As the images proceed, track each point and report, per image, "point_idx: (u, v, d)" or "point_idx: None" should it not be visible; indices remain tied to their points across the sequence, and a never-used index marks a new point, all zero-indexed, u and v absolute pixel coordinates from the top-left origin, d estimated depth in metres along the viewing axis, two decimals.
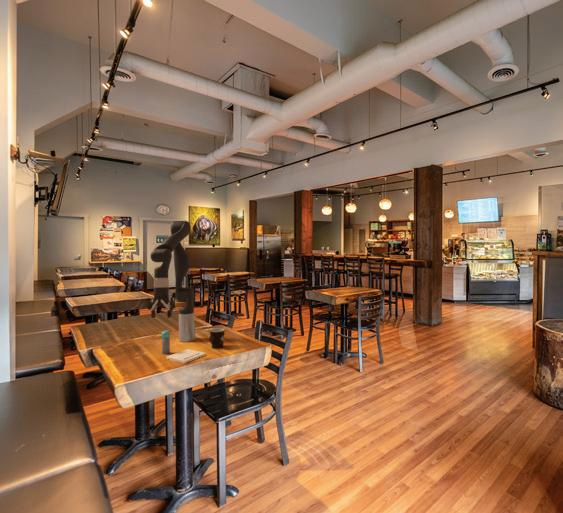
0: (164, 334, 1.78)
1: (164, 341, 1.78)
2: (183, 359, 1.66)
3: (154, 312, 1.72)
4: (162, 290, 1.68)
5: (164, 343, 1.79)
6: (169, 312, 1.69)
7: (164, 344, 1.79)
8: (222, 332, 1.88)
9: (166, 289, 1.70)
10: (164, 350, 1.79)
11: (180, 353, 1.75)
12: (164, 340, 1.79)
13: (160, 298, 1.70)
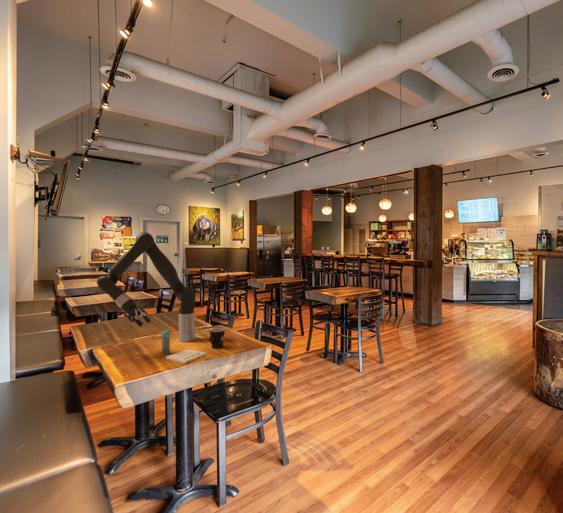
0: (164, 334, 1.78)
1: (164, 341, 1.78)
2: (183, 359, 1.66)
3: (146, 318, 1.85)
4: None
5: (164, 343, 1.79)
6: None
7: (164, 344, 1.79)
8: (222, 332, 1.88)
9: (122, 307, 1.79)
10: (164, 350, 1.79)
11: (180, 353, 1.75)
12: (164, 340, 1.79)
13: None
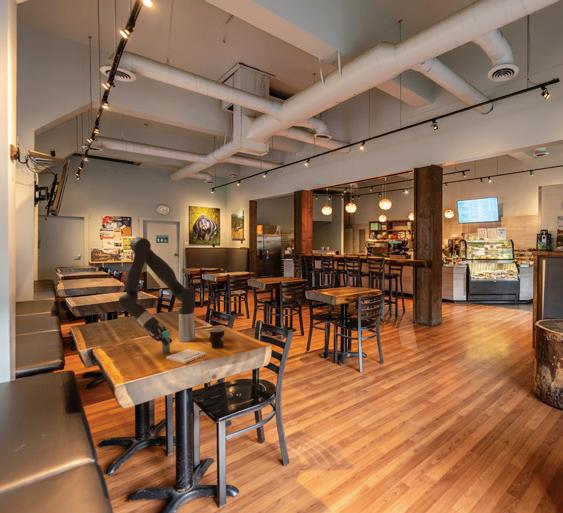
0: (164, 334, 1.78)
1: None
2: (183, 359, 1.66)
3: None
4: (145, 328, 1.79)
5: None
6: None
7: None
8: (222, 332, 1.88)
9: (145, 326, 1.78)
10: (164, 350, 1.79)
11: (180, 353, 1.75)
12: None
13: None
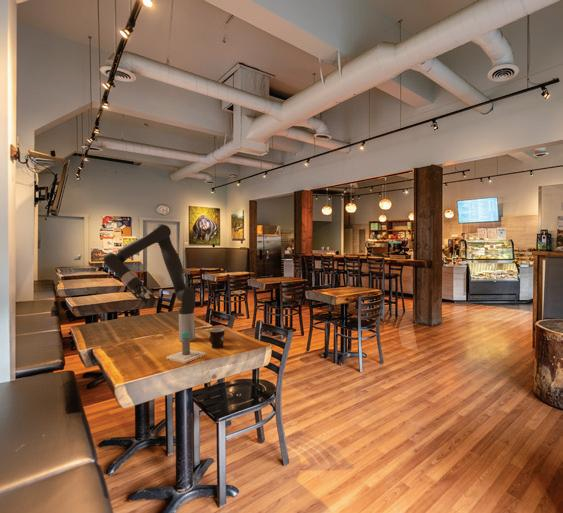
0: (184, 334, 1.73)
1: (184, 341, 1.73)
2: (183, 359, 1.66)
3: (151, 297, 1.85)
4: None
5: (184, 343, 1.73)
6: (142, 300, 1.76)
7: (184, 344, 1.73)
8: (222, 332, 1.88)
9: (128, 285, 1.78)
10: (184, 351, 1.73)
11: (180, 353, 1.75)
12: (184, 340, 1.73)
13: None
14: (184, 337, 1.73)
